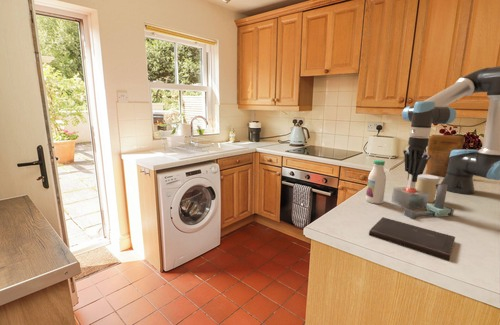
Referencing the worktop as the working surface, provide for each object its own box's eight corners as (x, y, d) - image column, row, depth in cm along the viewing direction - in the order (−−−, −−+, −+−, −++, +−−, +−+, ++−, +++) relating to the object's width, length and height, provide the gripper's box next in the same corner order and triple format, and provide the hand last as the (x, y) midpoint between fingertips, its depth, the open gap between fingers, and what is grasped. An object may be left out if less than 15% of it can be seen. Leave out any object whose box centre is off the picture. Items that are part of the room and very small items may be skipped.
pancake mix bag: (456, 179, 171) (465, 136, 165) (422, 174, 183) (428, 133, 177) (457, 177, 176) (465, 135, 170) (423, 172, 188) (430, 133, 182)
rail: (444, 211, 116) (445, 205, 115) (452, 215, 112) (454, 208, 111) (404, 214, 111) (405, 208, 111) (411, 218, 108) (412, 212, 107)
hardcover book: (382, 222, 105) (382, 217, 104) (454, 242, 90) (455, 236, 90) (368, 236, 93) (369, 230, 93) (448, 262, 78) (450, 255, 78)
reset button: (409, 199, 125) (411, 187, 124) (416, 202, 121) (418, 189, 120) (402, 199, 124) (403, 187, 123) (408, 202, 121) (410, 190, 119)
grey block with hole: (408, 200, 129) (411, 186, 128) (426, 208, 120) (428, 193, 118) (391, 201, 127) (393, 187, 126) (407, 209, 118) (410, 194, 116)
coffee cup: (439, 203, 126) (443, 179, 123) (417, 202, 128) (421, 178, 125) (430, 197, 135) (434, 174, 132) (410, 195, 137) (413, 173, 134)
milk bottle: (381, 199, 130) (387, 159, 125) (384, 205, 122) (389, 162, 118) (364, 197, 132) (369, 158, 128) (366, 202, 125) (371, 161, 121)
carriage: (436, 211, 116) (442, 182, 113) (449, 216, 110) (455, 186, 108) (425, 211, 115) (430, 182, 112) (437, 217, 109) (443, 187, 106)
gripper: (400, 135, 122) (393, 184, 127) (424, 138, 110) (415, 192, 115) (414, 135, 124) (406, 183, 129) (439, 138, 111) (429, 192, 116)
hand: (410, 187), depth 122 cm, fingers closed
